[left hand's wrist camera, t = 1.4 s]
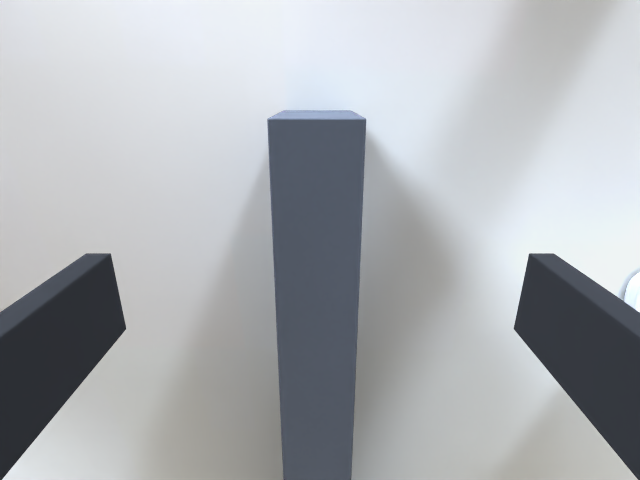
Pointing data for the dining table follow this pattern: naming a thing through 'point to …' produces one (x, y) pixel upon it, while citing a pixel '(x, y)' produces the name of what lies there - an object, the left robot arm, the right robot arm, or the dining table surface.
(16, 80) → the dining table surface
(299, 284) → the beam
